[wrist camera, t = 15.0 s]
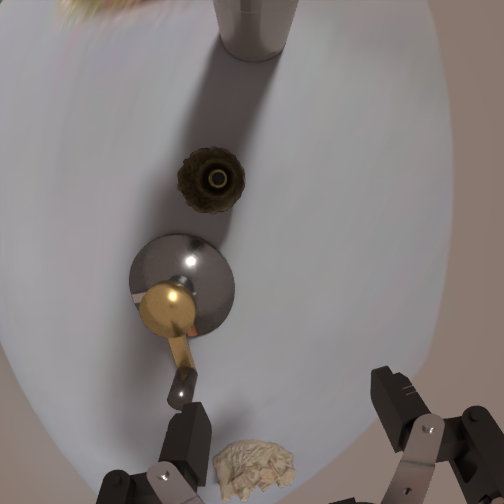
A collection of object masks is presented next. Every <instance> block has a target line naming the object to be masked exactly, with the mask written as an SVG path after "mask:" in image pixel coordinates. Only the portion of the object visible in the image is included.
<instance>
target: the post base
mask: <svg viewBox="0 0 504 504" xmlns="http://www.w3.org/2000/svg"><path fill="white" fill-rule="evenodd" d="M163 280H172V281H176V282H179V283H181V284H183V285H184V286H186V287H187V288H188V289H189V290H190V291H191V292H192V294H193V295H194V297H195V299H196V303H197V313H196V316H195V319H194V322H193V325H192V327H191V329H190V330H189V331H188V332H187V333H186V334H185V335H186V336H187V337H189V336H197V335H202V334H204V333H207V332H209V331H211V330H213V329H215V328H216V327H217V326H219V325H220V324H221V323H222V322H223V321H224V320H225V318H226V317H227V315H228V314H229V312H230V310H231V307H232V304H233V301H234V293H235V283H234V277H233V274H232V271H231V269H230V266H229V264H228V263H227V261H226V260H225V258H224V257H223V256H222V254H221V253H220V252H219V251H218V250H217V249H216V248H215V247H213V246H212V245H211V244H209V243H208V242H206V241H204V240H202V239H200V238H197V237H195V236H191V235H185V234H171V235H165V236H162V237H159V238H157V239H155V240H153V241H152V242H150V243H149V244H147V245H146V246H145V247H144V248H143V249H142V250H141V251H140V252H139V253H138V254H137V256H136V258H135V259H134V261H133V264H132V266H131V270H130V276H129V286H130V292H131V296H132V299H133V301H134V304H135V305H136V307H137V309H138V310H139V306H140V302H141V299H142V297H143V296H144V295H145V293H146V292H147V291H148V290H149V288H150V287H151V286H152V285H154V284H155V283H157V282H159V281H163ZM139 312H140V311H139Z"/></svg>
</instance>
